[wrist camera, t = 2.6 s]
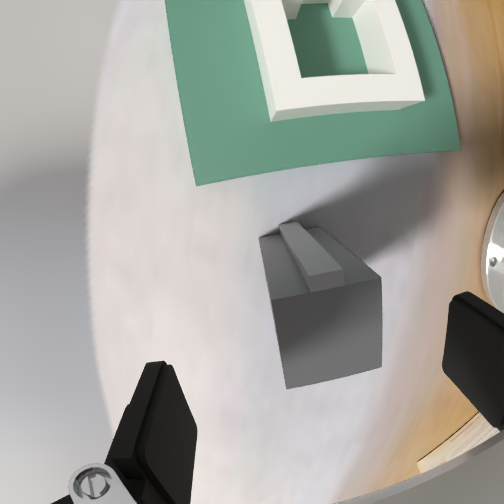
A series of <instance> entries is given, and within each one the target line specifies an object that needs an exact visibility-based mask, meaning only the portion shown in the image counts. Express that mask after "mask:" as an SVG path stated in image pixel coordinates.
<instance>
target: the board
mask: <svg viewBox="0 0 504 504" xmlns="http://www.w3.org/2000/svg"><path fill="white" fill-rule="evenodd" d="M395 2H396V4H397V7H398V10H399V12H400V15H401V18H402V21H403V23H404V26H405V29H406V32H407V35H408V38H409V42H410V45H411V48H412V51H413V55H414V58H415V62H416V66H417V69H418V73H419V77H420V81H421V85H422V89H423V94H424V98H425V101H423V102H420V103H417V104H414V105H410V106H407V107H404V108H402V109H399V110H383V111H365V112H351V113H339V114H329V115H319V116H311V117H302V118H295V119H287V120H280V121H274V122H271V121H270V116H269V111H268V106H267V101H266V96H265V92H264V87H263V82H262V77H261V73H260V68H259V63H258V59H257V54H256V50H255V45H254V41H253V37H252V32H251V28H250V24H249V20H248V15H247V11H246V7H245V3H244V0H165V5H166V13H167V20H168V27H169V34H170V41H171V48H172V54H173V61H174V67H175V73H176V79H177V85H178V91H179V97H180V103H181V109H182V114H183V120H184V126H185V131H186V136H187V142H188V147H189V152H190V158H191V163H192V168H193V173H194V178H195V183H196V186H200V185H205V184H210V183H215V182H220V181H225V180H230V179H235V178H240V177H245V176H251V175H256V174H262V173H268V172H273V171H279V170H285V169H292V168H298V167H304V166H311V165H318V164H325V163H332V162H340V161H347V160H355V159H364V158H373V157H382V156H392V155H402V154H413V153H426V152H439V151H456V150H461V148H460V141H459V134H458V128H457V122H456V117H455V112H454V107H453V102H452V97H451V93H450V89H449V84H448V80H447V76H446V73H445V69H444V65H443V62H442V58H441V55H440V51H439V48H438V45H437V42H436V39H435V36H434V33H433V30H432V27H431V24H430V21H429V19H428V16H427V13H426V11H425V8H424V6H423V3H422V1H421V0H395ZM287 23H288V26H289V30H290V34H291V38H292V42H293V46H294V50H295V54H296V58H297V62H298V66H299V70H300V75H301V78H308V77H320V76H335V75H356V74H368V70H367V66H366V62H365V58H364V55H363V51H362V48H361V44H360V41H359V37H358V34H357V31H356V28H355V24H354V21H353V18H332V15H331V12H330V9H329V6H328V3H315V4H301V6H300V9H299V12H298V14H297V17H296V19H288V20H287Z"/></svg>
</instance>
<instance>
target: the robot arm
mask: <svg viewBox="0 0 504 504" xmlns="http://www.w3.org/2000/svg"><path fill="white" fill-rule="evenodd" d="M481 278H482V284H483V289H484V291H485V294H486V297H487V299H488V300H489V302H490V303H491V304H492V305H493V306H494V307H493V306H491V305H490V304H488V303H487V302H485V301H483V300H482V299H480V298H479V297H477V296H475V295H474V294H472V293H470V292H468V291H467V292H463V293H461V294H458V295H455V296H454V297H453V298H452V301H451V302H450V304H449V313H448V323H447V332H446V340H445V348H444V355H443V361H442V368H443V371H444V373H445V374H446V375H447V376H448V377H449V378H450V379H451V380H452V382H453V383H454V384H455V385H456V386H457V387H458V388H459V389H460V390H461V392H462V393H463V394H464V395H465V396H466V397H467V398H468V399H469V401H470V402H471V403H472V404H473V405H474V406H475V407H476V408H477V410H478V411H479V412H480V413H481V414H482V415H483V417H484V418H485V419H486V420H487V421H488V422H489V424H490V425H491V426H492V427H494V428H497V429H498V430H499V431H500V432H499V433H497V434H496V435H494V436H493V437H491V438H489V439H488V440H486V441H484V442H483V443H481V444H479V445H477V446H476V447H474V448H472V449H470V450H468V451H467V452H465V453H463V454H461V455H459V456H457V457H455V458H453V459H451V460H449V461H447V462H445V463H443V464H441V465H439V466H437V467H435V468H433V469H431V470H428V471H426V472H424V473H422V474H419V475H417V476H415V477H412V478H410V479H407V480H405V481H402V482H400V483H397V484H395V485H392V486H389V487H386V488H384V489H381V490H378V491H375V492H372V493H369V494H366V495H362V496H359V497H356V498H352V499H349V500H345V501H342V502H338V503H334V504H504V192H503V193H502V195H501V196H500V197H499V199H498V201H497V203H496V205H495V206H494V208H493V210H492V213H491V216H490V218H489V221H488V224H487V227H486V231H485V235H484V240H483V246H482V253H481ZM496 308H497V309H496ZM499 310H500V311H499ZM502 312H503V313H502ZM196 442H197V426H196V423H195V420H194V418H193V416H192V413H191V411H190V409H189V406H188V404H187V401H186V399H185V396H184V394H183V391H182V389H181V386H180V384H179V381H178V379H177V376H176V373H175V371H174V368H173V366H172V365H167V363H166V362H165V361H158V362H149V363H146V365H145V367H144V370H143V372H142V375H141V377H140V380H139V382H138V384H137V387H136V389H135V392H134V394H133V397H132V399H131V402H130V404H128V405H127V407H126V408H125V411H124V413H123V416H122V418H121V421H120V424H119V426H118V429H117V431H116V434H115V436H114V439H113V442H112V445H111V447H110V450H109V452H108V455H107V458H106V461H105V463H104V464H100V463H94V464H88V465H85V466H83V467H81V468H80V469H78V470H77V471H76V472H75V473H74V474H73V475H72V476H71V479H70V480H69V485H68V489H69V493H70V494H69V495H67V496H65V497H63V498H61V499H59V500H57V501H55V502H53V503H52V504H190V500H191V490H192V479H193V470H194V460H195V451H196Z"/></svg>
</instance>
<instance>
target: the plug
mask: <svg viewBox="0 0 504 504" xmlns="http://www.w3.org/2000/svg"><path fill="white" fill-rule="evenodd" d="M279 230H280V234H276V235H271V236H265V237H260V238H259V243H260V248H261V253H262V259H263V264H264V270H265V275H266V281H267V286H268V292H269V297H270V303H271V308H272V313H273V319H274V324H275V330H276V335H277V340H278V346H279V351H280V357H281V362H282V368H283V373H284V379H285V384H286V389H291V388H296V387H301V386H306V385H311V384H316V383H320V382H325V381H329V380H333V379H338V378H342V377H346V376H350V375H354V374H358V373H362V372H365V371H369V370H373V369H376V368H380V367H382V284H381V277H380V276H379V275H378V274H377V273H376V272H374V271H373V270H372V269H371V268H370V267H368V266H367V265H366V264H365V263H364V262H362V261H361V260H360V259H359V258H358V257H356V256H355V255H354V254H353V253H352V252H350V251H349V250H348V249H347V248H345V247H344V246H343V245H342V244H340V243H339V242H338V241H337V240H336V239H334V238H333V237H332V236H331V235H329V234H328V233H327V232H326V231H324V230H323V229H322V228H320V227H315V228H309V229H304V228H303V227H302V226H301V225H300V224H299V223H298V222H297V221H296V222H291V223H285V224H279Z"/></svg>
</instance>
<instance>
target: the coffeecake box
mask: <svg viewBox="0 0 504 504" xmlns="http://www.w3.org/2000/svg"><path fill="white" fill-rule="evenodd" d="M499 432H500V431H499V430H498V429H497V428H494V427H492V426H491V425H490V424H489V422H488V421H487V420H486V419H485V418H484V417H483V415H482V414H481V413H480V412H479V413H478V414H477V415H475V416H474V417H473V418H472V419H471V420H470V421H469V422H468V423H467V424H465V425H464V426H463V427H462V428H461V429H460V430H458V431H457V432H456V433H455V434H454V435H453V436H451V437H450V438H449V439H448V440H446V441H445V442H444V443H442V444H441V445H440V446H439V447H437V448H436V449H435V450H433V451H432V452H431V453H429V454H428V455H427V456H425V457H424V458H423V459H421V460H420V461H418V462H417V465H418V468H419V470H420V472H421V474H422V473H424V472H426V471H428V470H431V469H433V468H435V467H437V466H439V465H441V464H443V463H445V462H447V461H449V460H451V459H453V458H455V457H457V456H459V455H461V454H463V453H465V452H467V451H468V450H470V449H472V448H474V447H476V446H477V445H479V444H481V443H483V442H484V441H486V440H488V439H489V438H491V437H493V436H494V435H496V434H497V433H499Z"/></svg>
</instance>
